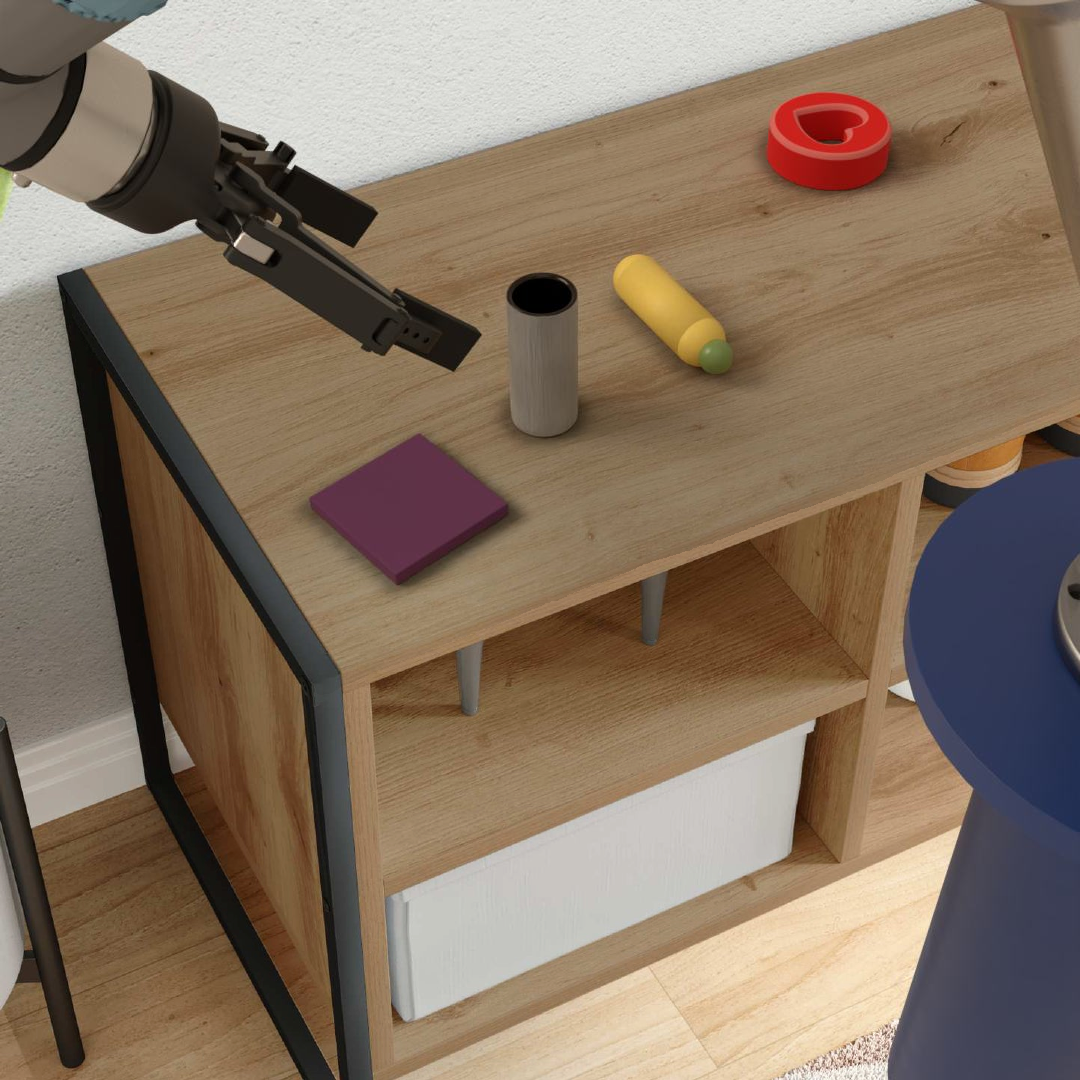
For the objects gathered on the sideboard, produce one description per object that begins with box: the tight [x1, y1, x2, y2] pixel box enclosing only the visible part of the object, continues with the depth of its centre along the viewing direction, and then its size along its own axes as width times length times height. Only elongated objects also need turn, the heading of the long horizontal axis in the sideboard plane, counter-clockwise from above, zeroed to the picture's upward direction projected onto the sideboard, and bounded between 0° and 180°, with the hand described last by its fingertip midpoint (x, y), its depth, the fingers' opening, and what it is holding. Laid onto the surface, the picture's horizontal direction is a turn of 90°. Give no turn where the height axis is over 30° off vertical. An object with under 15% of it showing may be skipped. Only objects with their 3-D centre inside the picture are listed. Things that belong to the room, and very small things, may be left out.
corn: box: [612, 253, 734, 375], centre depth 111 cm, size 13×4×4 cm, turn 30°
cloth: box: [308, 432, 509, 586], centre depth 100 cm, size 9×9×1 cm
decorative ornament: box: [766, 91, 893, 191], centre depth 126 cm, size 10×10×3 cm
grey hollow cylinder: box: [505, 271, 579, 438], centre depth 103 cm, size 4×4×10 cm
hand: (412, 286), depth 93 cm, fingers open, 13 cm apart
